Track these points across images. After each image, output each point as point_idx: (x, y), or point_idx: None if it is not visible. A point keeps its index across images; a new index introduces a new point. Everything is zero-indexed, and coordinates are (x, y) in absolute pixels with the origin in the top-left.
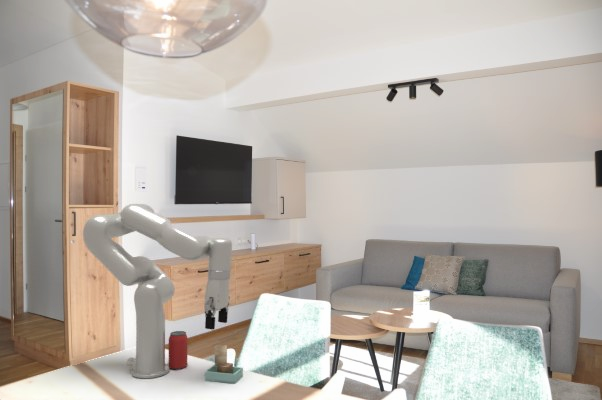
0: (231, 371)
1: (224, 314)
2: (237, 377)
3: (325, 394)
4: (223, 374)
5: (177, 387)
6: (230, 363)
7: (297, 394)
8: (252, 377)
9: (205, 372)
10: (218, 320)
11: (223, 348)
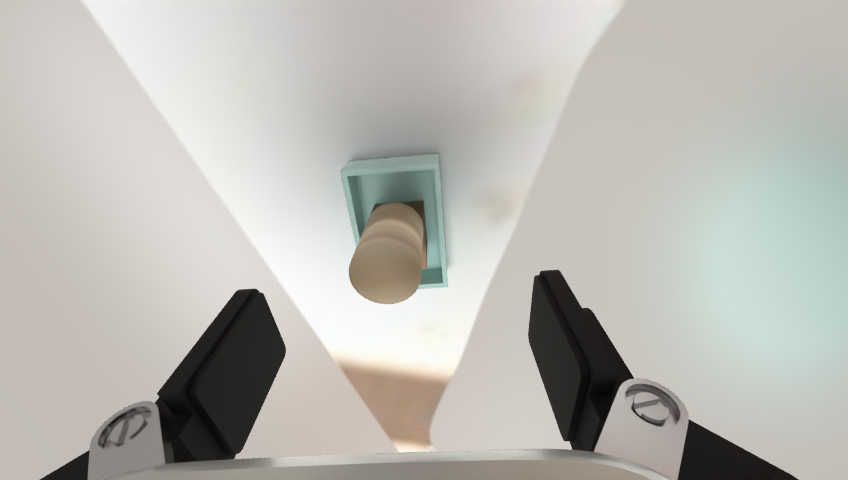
0: None
1: (554, 397)
2: None
3: None
4: None
5: (229, 92)
6: (422, 260)
7: (378, 422)
8: (450, 297)
9: (342, 172)
10: (538, 283)
11: (366, 296)
